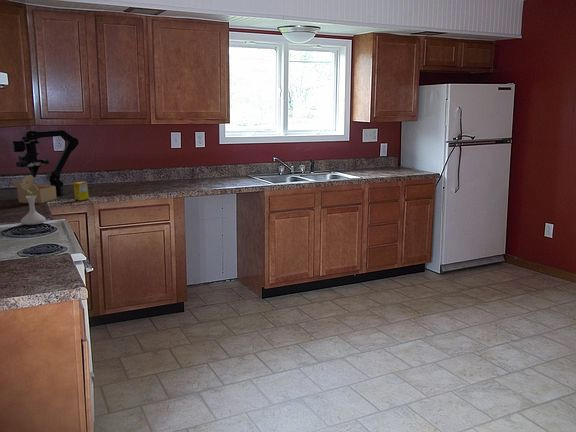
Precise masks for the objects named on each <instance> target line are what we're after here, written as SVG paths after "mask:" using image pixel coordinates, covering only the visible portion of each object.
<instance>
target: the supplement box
mask: <svg viewBox="0 0 576 432" xmlns="http://www.w3.org/2000/svg"><path fill="white" fill-rule="evenodd" d="M88 186H89V185H88V182H87V181H75V182H73V192H74V201H76V202H85V201H89V200H90V199H89V187H88Z"/></svg>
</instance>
